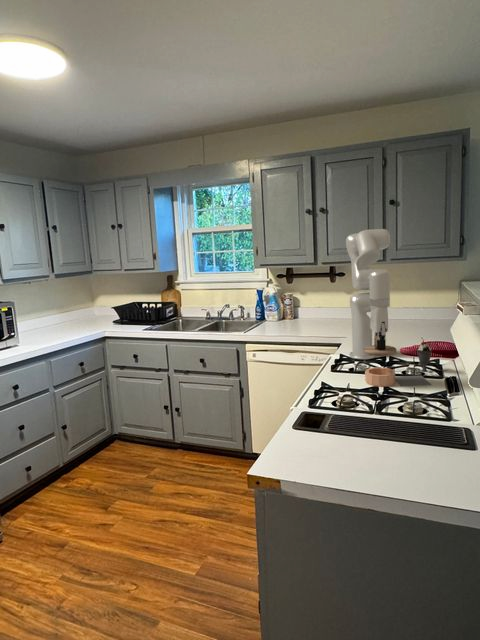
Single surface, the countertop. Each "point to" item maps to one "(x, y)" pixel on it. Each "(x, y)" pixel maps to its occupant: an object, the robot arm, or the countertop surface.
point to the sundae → (424, 355)
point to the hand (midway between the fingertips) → (379, 347)
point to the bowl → (380, 376)
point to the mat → (411, 381)
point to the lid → (373, 350)
